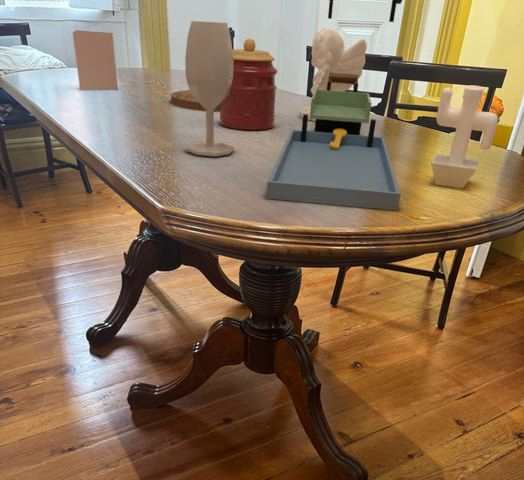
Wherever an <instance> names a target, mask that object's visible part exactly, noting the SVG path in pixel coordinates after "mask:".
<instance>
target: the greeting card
mask: <svg viewBox="0 0 524 480" xmlns="http://www.w3.org/2000/svg"><path fill="white" fill-rule="evenodd" d="M72 38H73V46H74V53H75V61H76V69H77V76H78V84H79V91H114V90H115V91H116V90H119V88H118V87H119V85H118V74H117V65H116V55H115V45H114V34H113V32H106V31H105V32H104V31H91V30H90V31H88V30H76V29H75V30H74V31H72Z"/></svg>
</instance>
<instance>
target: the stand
mask: <svg viewBox="0 0 524 480" xmlns="http://www.w3.org/2000/svg"><path fill="white" fill-rule="evenodd" d="M308 121H309V120H308V114H303V118H302V121H301V123H302V124H301V131H302V133H301V142H306V132H307V131H308ZM376 122H377V119H375V118H370V123H369V129H368V135H367V136H368V142H367V147H369V148H372V143H373V137H375V136H374V135H375V130H376V124H377V123H376ZM338 128H341V129H344V130H346V132H347V134H349V135H361V129H362V123H359V122H346V121H334V120H321V119H316V121H314V132H324V133H333V131H334V130H335V129H338Z"/></svg>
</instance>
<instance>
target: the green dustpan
mask: <svg viewBox="0 0 524 480" xmlns="http://www.w3.org/2000/svg"><path fill="white" fill-rule="evenodd" d="M331 83H343V84H354V85H352V90H353V91H345V92H344V91H331ZM358 90H359V78H358V75H352V74H338V73H329V79H328V83H327V90H317V89H315V91H314V94H312V97H311V101H310V103H311V110H310V119H321V120H334V121H346V122H359V123H361V124H369V121H370V117H371V110H372V109H371V108H372V100H371V96H370V94H369V92H358ZM316 104H317V105H316ZM329 105H330V106H329Z"/></svg>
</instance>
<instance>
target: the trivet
mask: <svg viewBox="0 0 524 480" xmlns="http://www.w3.org/2000/svg"><path fill="white" fill-rule="evenodd" d="M170 103H171V104H172V105H173V106H176V107H179V108H183V109H188V110H195V111H196V110H197V111H204V112H205V111H206V109H205V108H204V107H203V106H202V105H201V104H200V103H199V102H198V101H197V100H196V99H195V98H194V97H193V96H192V95H191V94H190V91H189V89H186V90H178V91H173V92H172V93H171V94H170ZM220 110H221V103H220V104H219V105H218V106H217V107H216V108H215V109H214V112H220Z"/></svg>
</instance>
